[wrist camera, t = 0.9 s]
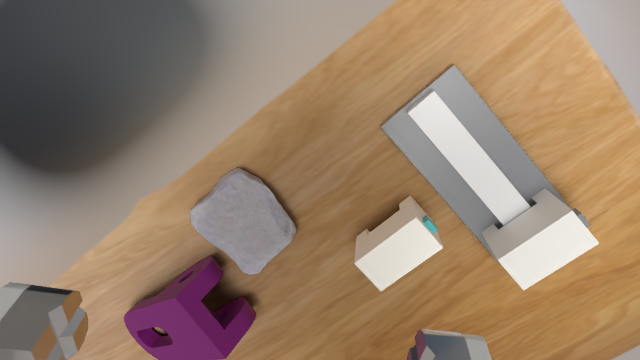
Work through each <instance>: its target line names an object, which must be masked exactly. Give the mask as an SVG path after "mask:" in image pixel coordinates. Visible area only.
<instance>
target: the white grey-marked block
mask: <svg viewBox="0 0 640 360" xmlns="http://www.w3.org/2000/svg"><path fill="white" fill-rule="evenodd" d="M531 198H532V199H533V200H534V201H535V203H536V204H535V205H534V206H532V207H531V208H529V209H528V210H527V211H525V212H524V213H522V214H521V215H519V216H518V217H516V218H515V219H513V220H512V221H510V222H509V223H508V224H506V225H505V226H503V227H502V228H500V229H498V228H497V227H496V226H495V225H494V224H492V225H491V226H489V227H488V228H487V229H485V230H484V231H482V232H481V233H482V235H483V237H484V238H485V240H486V242H487V243H488V245H489V247H490V248H491V250H492V252H493V254H494V255H495V257H496V259H497V260H498V261H499V263H500V264H501V265H502V266H503V267H504V268H505V269H506V271H507V272H508V273H509V274H510V275H511V276H512V278H513V279H514V280H515V281H516V282H517V283H518V284H519V286H520V287H521V288H522V289H523V290H525V289H527V288H529V287H530V286H532V285H533V284H535V283H537V282H538V281H540V280H541V279H543V278H545V277H546V276H548V275H549V274H551V273H553V272H554V271H556V270H557V269H559V268H561V267H562V266H564V265H565V264H567V263H569V262H570V261H572V260H573V259H575V258H577V257H578V256H580V255H581V254H583V253H585V252H586V251H588V250H589V249H591V248H593V247H594V246H596V245H597V244H599V242H598V241H597V240H596V239H595V238H594V236H593V235H592V234H591V233H590V231H589V230H588V229H587V228H586V227H588V226H590V225H591V224H590V223H589V222H588V221H587V219H586V218H585V217H584V216H583V214H582V213H581V212H579V211H578V210H577V209H576V208H574V209H573V210H571V209H570V208H569V207H568V206H566V205H565V204H564V203H563V202H562V201H560V200H559V199H558V198H557V197H555V196H554V195H553V194H552V193H550V192H549V191H548V190H547V189H546V188H544V189H543V190H541V191H540V192H539V193H537V194H536V195H534V196H533V197H531Z"/></svg>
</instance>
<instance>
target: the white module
mask: <svg viewBox="0 0 640 360" xmlns="http://www.w3.org/2000/svg"><path fill="white" fill-rule="evenodd" d="M399 208H400V210H399V211H397V212H396V213H395V214H393V215H392V216H391V217H390V218H388V219H387V220H386V221H384V222H383V223H382V224H380V225H379V226H378V227H376V228H375V229H374V230H372V231H371V232H370V231H369V230H368V229H366V230H364V231H363V232H362V233H361V234H359V235H358V236H357V237H356V247H355V260H354V264H355V265H356V266H357V267H358V268H359V269H360V270H361V271H362V272H363V273H364V274H365V275H366V276H367V277H368V278H369V279H370V281H371V282H372V283H373V284H374V285H375V286H376V287H377V288H378V289H379V290H380V291H382V290H384V289H385V288H387V287H388V286H390V285H391V284H392V283H394V282H395V281H397V280H398V279H399V278H401V277H402V276H404V275H405V274H407V273H408V272H409V271H411V270H412V269H414V268H415V267H417V266H418V265H419V264H421V263H422V262H424V261H425V260H427V259H428V258H429V257H431V256H432V255H434V254H435V253H437V252H438V251H439V250H441V249H442V248H443V246H442V243H441V240H440V237H439V234H438V232H437V231H438V230H437V227H436V225H435V223H434V222H433V220H432V219H431V218H430V217H429V216H428V215H427V214H426V213H425V211H424V210H423V209H422V208H421V207H420V206H419V205H418V203H417V202H416V201H415V200H414V199H413V198H412V197H411V196H409V197H408V198H406V199H405V200H404V201H402V202H401V203H400V204H399Z"/></svg>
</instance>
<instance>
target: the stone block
mask: <svg viewBox="0 0 640 360" xmlns="http://www.w3.org/2000/svg"><path fill="white" fill-rule="evenodd" d="M190 220H191V224H192V225H193V227H194V228H195V229H196V230H197V232H198V233H200V234H201V235H202V236H203V237H204V238H206V239H207V240H208V241H209V242H210V243H212V244H213V245H215V246H216V247H218V248H219V249H221V250H222V251H224V252H225V253H226V254H228V255H229V256H230V258H231V259H232V260H234V261H235V262H236V264H237V265H238V267H239V268H240V270H241V271H243V272H244V273H245V274H251V275H253V274H257V273H260V272H261V270H262V269H263V268H264V267H265V266H266V264H267V263H268V262H269V261H270V260H271V259H272V258H274V257H275V256H276V255H277V254H278V253H279V252H280V251H281V250H282V249H284V248H285V247H286V246H287V245H288V244H289V243H290V242H291V241H292V240H293V238H294V235H295V233H296V227H295V224H294V222H293V221H292V220H291V218H290V217H289V215H288V214H287V213H286V212H285V210H284V209H283V208H282V206H281V204H280V203H279V202H278V201H277V199H276V198H275V196H274V194H273V193H272V192H271V191H270V189H269V188H268V187H267V186H266V185H265V184H264V183H263V182H262V180H261V179H260V178H258V177H256V176H254V175H252V174H250V173H248V172H246V171H244V170H242V169H241V168H235V169H233V170H232V171H230V172H229V173H227V174H225V175H224V176H223V177H221V179H220V180H219V182H218V183H217V185H215V187H214V189H213V191H212V192H211V193H209V194H208V195H207V196H206V197H205V198H204V199H202V200H201V201H200V202H198V203H197V204H196V205H195V206H194V207H193V208H192V209H191V211H190Z"/></svg>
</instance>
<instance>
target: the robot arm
mask: <svg viewBox="0 0 640 360" xmlns="http://www.w3.org/2000/svg"><path fill="white" fill-rule="evenodd" d="M81 302H82V297H81V295H80V292H79V291H74V290H66V289H59V288H51V287H43V286H36V285H28V284H20V283H12V282H10V283H8V284H7V285H5V286H3V287H2V288H1V289H0V360H67V359H69V358H70V357H72V356H73V355H75V354H76V353H77V352H78V351H79V349H80V348H81V346H82V344H83V342H84V340H85V336H86V333H87V330H88V317H87V313H86V312H85V311H84V310H83V309H81V308H80V307H79V305H80V304H81ZM415 341H416V345H415V346H413V347H412V348H410V350H409V353H408V356H407V360H492V359H491V356H490V353H489V350H488V347H487V344H486V341H485V339H484V338H483V337H482V336H480V335H472V334H460V333H458V332H448V331H438V330H427V329H420V330H419V331H418V332H417V334H416V336H415Z"/></svg>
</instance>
